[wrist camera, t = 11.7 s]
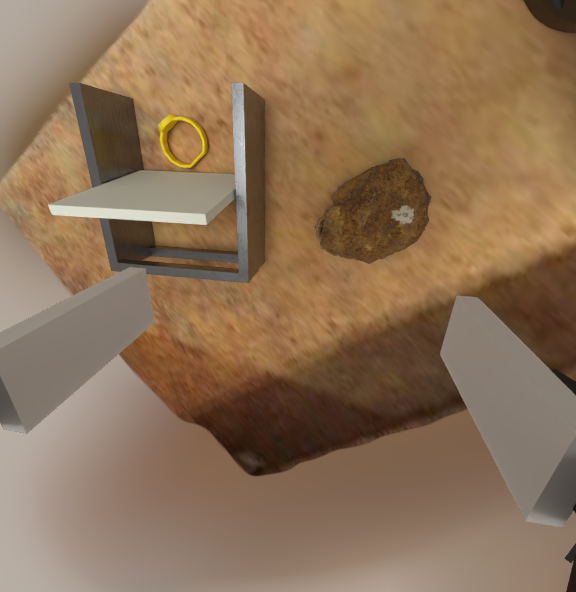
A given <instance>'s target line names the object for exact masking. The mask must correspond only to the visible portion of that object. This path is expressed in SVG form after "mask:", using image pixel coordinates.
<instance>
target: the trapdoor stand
mask: <svg viewBox="0 0 576 592" xmlns="http://www.w3.org/2000/svg"><path fill="white" fill-rule="evenodd" d="M69 84H70V88H71V93H72V97H73V102H74V106H75V111H76V115H77V120H78V124H79V129H80V133H81V138H82V142H83V146H84V151H85V155H86V160H87V164H88V169H89V173H90V178H91V182H92V187H93V188H94V187H97V186H99V185H102V184H105V183H108V182H110V181H113V180H116V179H118V178H121V177H124V176H126V175H129V174H132V173H134V172H137V171H140V170H144V169H143V162H142V156H141V149H140V143H139V136H138V130H137V123H136V117H135V111H134V104H133V99H132V98H129V97H125V96H122V95H119V94H115V93H112V92H109V91H105V90H102V89H98V88H95V87H92V86H88V85H85V84H82V83H69ZM232 109H233V134H234V160H235V186H236V211H237V237H238V252H232V251H219V250H206V249H193V248H180V247H167V246H155V240H154V234H153V227H152V221H139V220H124V219H109V218H100V222H101V227H102V231H103V236H104V240H105V245H106V249H107V254H108V258H109V263H110V267H111V271H120V272H121V271H123V270H125V269H127V268H129V267H136V268H146V273H147V274H153V275H164V276H175V277H187V278H198V279H209V280H220V281H231V282H242V283H249V282H250V280H251V279H252V278H253V276H254V275H255V274H256V272H257V271H258V270H259V268H260V267H261V266H262V264H263V263H264V262H265V123H264V99H263V98H262V97H260V96H259V95H258V94H257V93H255V92H254V91H253V90H252V89H250V88H249V87H248V86H247V85H245V84H244V83H232ZM149 256H160V257H172V258H185V259H197V260H209V261H221V262H234V263H239V269H235V268H223V267H211V266H199V265H187V264H175V263H163V262H151V261H141V260H143V259H145V258H147V257H149Z"/></svg>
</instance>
